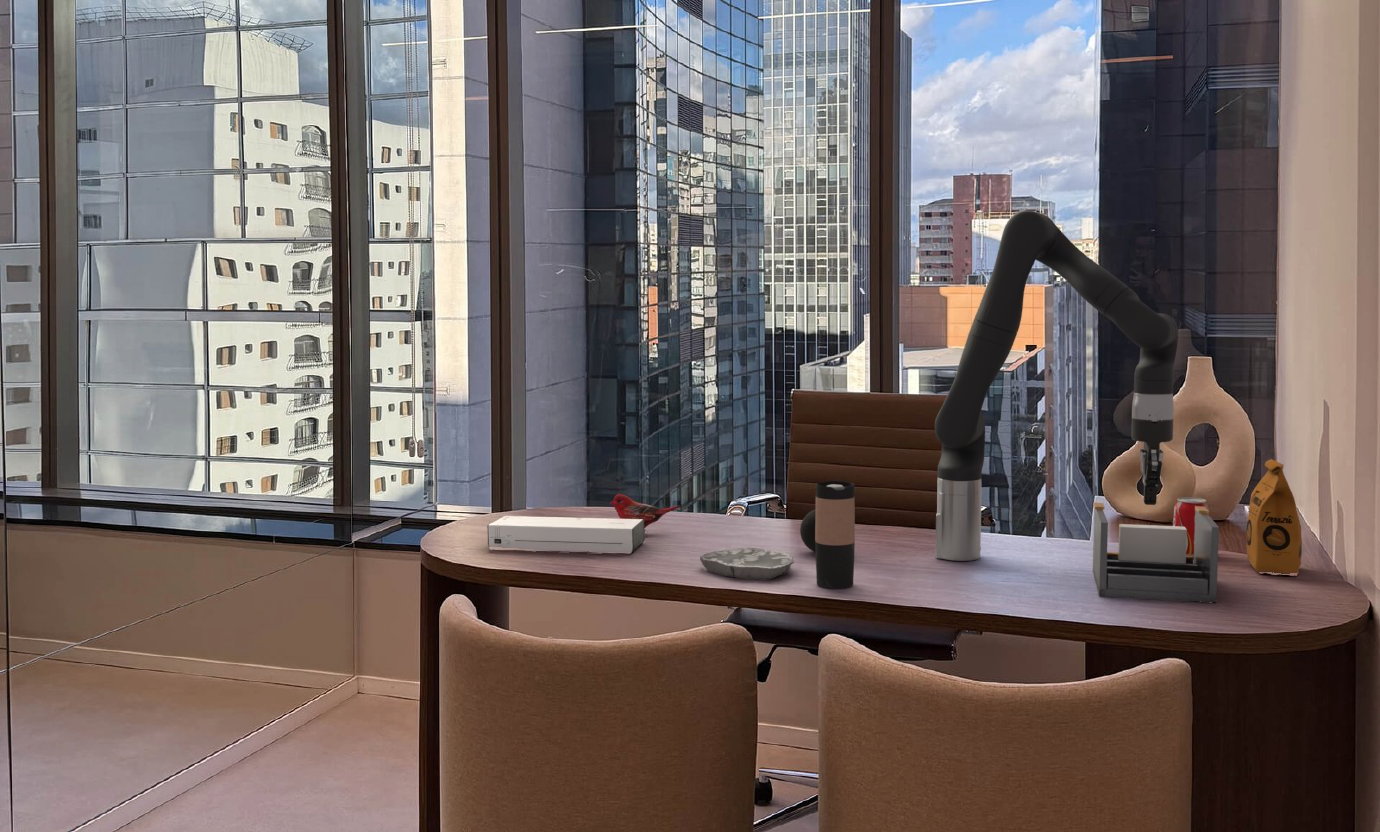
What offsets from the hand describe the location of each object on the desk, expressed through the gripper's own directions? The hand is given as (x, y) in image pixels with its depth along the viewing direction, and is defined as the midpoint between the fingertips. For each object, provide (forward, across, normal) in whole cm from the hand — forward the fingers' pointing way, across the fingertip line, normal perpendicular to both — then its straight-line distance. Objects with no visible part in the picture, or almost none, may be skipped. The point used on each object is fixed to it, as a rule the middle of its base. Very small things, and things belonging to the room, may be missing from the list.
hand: (1149, 504), depth 220 cm
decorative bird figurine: (+15, -19, -111) cm, 114 cm away
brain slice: (+16, +11, -78) cm, 80 cm away
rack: (+15, +6, 0) cm, 16 cm away
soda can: (+15, -25, +11) cm, 31 cm away
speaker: (+15, -8, -66) cm, 68 cm away
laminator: (+16, 0, -124) cm, 125 cm away
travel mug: (+15, +19, -59) cm, 64 cm away
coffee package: (+15, -14, +25) cm, 32 cm away
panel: (+14, 0, +1) cm, 14 cm away
